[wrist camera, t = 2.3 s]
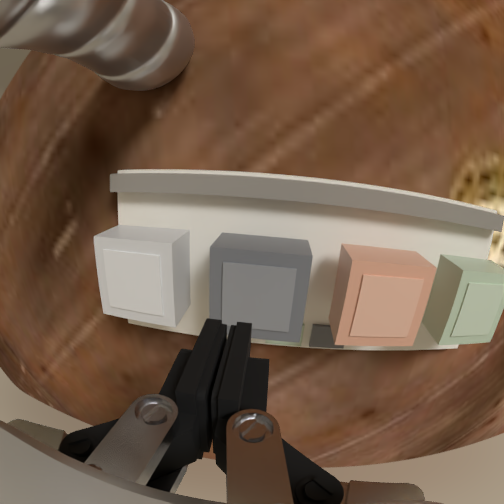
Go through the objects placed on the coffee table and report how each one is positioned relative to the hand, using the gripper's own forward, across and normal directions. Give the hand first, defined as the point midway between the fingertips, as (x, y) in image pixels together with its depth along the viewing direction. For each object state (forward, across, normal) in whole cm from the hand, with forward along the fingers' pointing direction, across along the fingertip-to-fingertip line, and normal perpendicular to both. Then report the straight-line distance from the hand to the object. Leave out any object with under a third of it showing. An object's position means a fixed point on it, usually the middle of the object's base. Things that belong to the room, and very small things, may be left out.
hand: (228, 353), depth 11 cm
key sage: (+7, -15, 0) cm, 17 cm away
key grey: (+8, +6, 0) cm, 10 cm away
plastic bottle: (+10, +8, -15) cm, 20 cm away
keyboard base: (+10, -4, 0) cm, 11 cm away
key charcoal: (+8, -1, 0) cm, 8 cm away
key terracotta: (+7, -8, 0) cm, 11 cm away
